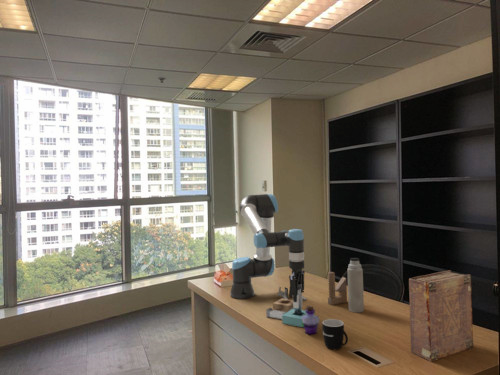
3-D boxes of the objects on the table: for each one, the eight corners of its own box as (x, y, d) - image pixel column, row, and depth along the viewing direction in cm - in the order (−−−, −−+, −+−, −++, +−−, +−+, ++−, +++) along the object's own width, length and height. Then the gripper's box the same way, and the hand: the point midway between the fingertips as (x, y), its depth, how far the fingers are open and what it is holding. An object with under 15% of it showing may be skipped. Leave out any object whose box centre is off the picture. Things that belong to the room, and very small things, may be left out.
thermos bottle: (350, 307, 209) (348, 256, 209) (364, 308, 205) (363, 257, 205) (347, 311, 201) (345, 259, 201) (362, 313, 198) (361, 260, 198)
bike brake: (274, 296, 230) (293, 310, 213) (275, 286, 229) (294, 299, 212) (293, 293, 237) (313, 306, 219) (293, 283, 236) (313, 295, 219)
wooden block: (347, 302, 217) (346, 271, 216) (331, 305, 213) (330, 273, 213) (343, 300, 220) (342, 270, 220) (327, 303, 216) (326, 272, 216)
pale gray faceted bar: (266, 316, 197) (266, 309, 197) (269, 314, 200) (269, 307, 200) (289, 320, 190) (289, 313, 190) (292, 318, 193) (292, 311, 193)
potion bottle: (298, 330, 177) (297, 305, 177) (314, 327, 180) (313, 302, 180) (307, 337, 169) (306, 310, 169) (323, 334, 172) (323, 308, 172)
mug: (318, 346, 160) (317, 322, 160) (332, 340, 165) (332, 317, 165) (340, 355, 150) (339, 330, 150) (355, 349, 155) (354, 325, 155)
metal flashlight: (292, 318, 189) (291, 284, 188) (296, 315, 192) (295, 282, 192) (300, 319, 186) (299, 285, 186) (304, 317, 190) (303, 283, 190)
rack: (273, 312, 204) (272, 303, 204) (281, 307, 212) (281, 298, 212) (289, 315, 198) (289, 305, 198) (298, 309, 207) (297, 300, 207)
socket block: (282, 323, 187) (282, 315, 187) (293, 316, 197) (292, 308, 197) (304, 327, 181) (304, 319, 181) (314, 319, 191) (314, 311, 191)
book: (452, 339, 162) (450, 270, 162) (473, 347, 153) (471, 274, 153) (410, 352, 151) (408, 278, 150) (431, 362, 142) (428, 283, 142)
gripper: (296, 264, 180) (297, 312, 180) (310, 257, 194) (311, 303, 194) (282, 262, 184) (283, 310, 184) (297, 256, 198) (298, 300, 198)
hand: (297, 306), depth 189 cm, fingers closed on metal flashlight, 3 cm apart
